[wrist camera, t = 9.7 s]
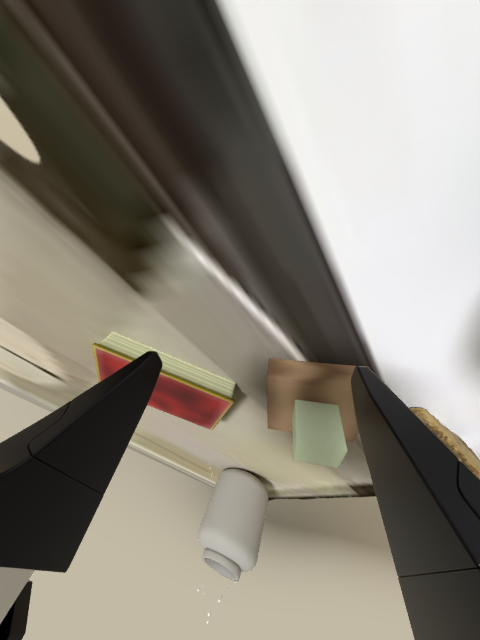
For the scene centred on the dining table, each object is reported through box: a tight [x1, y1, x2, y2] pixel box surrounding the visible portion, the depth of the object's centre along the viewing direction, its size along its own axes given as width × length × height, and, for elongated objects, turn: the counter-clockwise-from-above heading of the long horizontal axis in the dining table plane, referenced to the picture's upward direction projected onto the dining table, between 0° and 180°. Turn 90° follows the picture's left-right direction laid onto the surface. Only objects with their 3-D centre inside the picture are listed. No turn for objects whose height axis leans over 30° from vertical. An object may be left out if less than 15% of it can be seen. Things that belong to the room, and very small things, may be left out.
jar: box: [197, 463, 268, 624], centre depth 49 cm, size 19×15×25 cm
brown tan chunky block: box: [409, 408, 480, 479], centre depth 26 cm, size 11×9×10 cm
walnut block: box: [267, 359, 369, 442], centre depth 28 cm, size 12×12×4 cm
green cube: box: [292, 400, 347, 468], centre depth 24 cm, size 5×5×5 cm
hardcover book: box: [93, 331, 236, 430], centre depth 33 cm, size 12×21×4 cm, turn 68°
